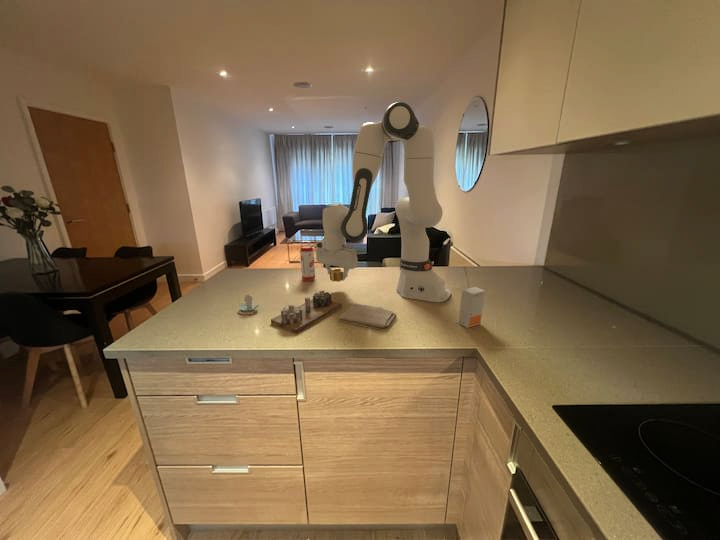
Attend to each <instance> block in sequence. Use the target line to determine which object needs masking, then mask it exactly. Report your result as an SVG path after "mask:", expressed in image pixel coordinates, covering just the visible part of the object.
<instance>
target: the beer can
mask: <svg viewBox="0 0 720 540" xmlns="http://www.w3.org/2000/svg"><path fill="white" fill-rule="evenodd" d="M299 250H300V251H299V253H300V254H299V255H300V257H299V258H300V268H301V271H300V272H301V278H302V280H303V281H305V282H311V281H314V280H315V279H316V270H315V269H316V267H315V254H314V253H315V251H314V248H313V246H312V245H302V246H301V247H300V249H299ZM313 279H314V280H313Z"/></svg>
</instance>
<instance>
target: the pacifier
mask: <svg viewBox="0 0 720 540" xmlns="http://www.w3.org/2000/svg"><path fill="white" fill-rule="evenodd" d="M243 299H244V302H243V303H240V304H239V305H238V308H239V310H238V314H240V315H252V314H255V313H256V309H257V308H258V307H260V304H256V305H253V296H252V295H251V294H246V295H244V297H243Z"/></svg>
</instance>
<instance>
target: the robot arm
mask: <svg viewBox="0 0 720 540" xmlns="http://www.w3.org/2000/svg"><path fill="white" fill-rule="evenodd" d="M396 142H401V144H402V145H403V150H404V153H403V159H404V160H403V183H404V184H405V185H404V186H406V190H407V193H408V194H407V195H408V196H406V197H403V198H401V199H399V200H398V201H397V202H396V203H395V204H396V205H395V214H396V216H397V219H398V225H399V228H400V230H399V231H400V236H401V237H400V238H401V257H400V258H399V260H400V261H399V271H400V272H399V278H398V283H397V286H396V289H395V290H396V292H397V293H398V294H400V296H401V298H405V299H412V300H417V301H418V300H419V301H424V302H431V303H438V304H439V303H444V302H445V301H447V300H448V299H449V298H450V297H451V295H452V293H451V290H450V289H447V288H446V282H445V279H444V278H443V277H442V276H441V275H440V274H439V273H438V272H437V271H435V269H433V265H434V262H435V261H431V259H429V255H430V254H429V253H430V239H429V237H428V235H427V232H426V228H427V229H428V228H432V227H435V226H437V225H438V224H439V223H440V222H441V220H442V218H443V212H444V211H443V207H442V205H441V204H440V203H439V201H438V199H437V193H436V189H435V181H434V173H435V171H434V169H435V168H434V167H435V144H434V143H435V140H434V134H433V131H432V129H430V127H427V126H424V125H420V123H419V120H418V119H417V117H416V114H415V113H414V110H413V109H412V107H411V106H410V105H409V104H408V103H406V102H404V101H395V102H394V103H392V104H390V105H389V106H388V107H387V108H386V110H385V111H384V114H383V117H382V119H381V120H380V121H378V122H366V123H363V124H362V125H361V127H360V129H359V131H358V133H357V137H356V141H355V143H354V144H355V145H354V149H353V155H352V185H353V186H352V194H351V198H350V204H349V207H347V206H345V205H344V204H343V203H341V202H340V203H339V202H336V203H332V204H331V203H330V204H329V205H326V206H325V207H324V208H323V210H322V227H323V231H324V235H323V239H322V240H319V241H317V242H315V243H314V244H315V248H316V250H315V257H316V258H315V259H316V262H317V263H318V264H321V265H322V264H323V265H324V267H325V269H326V270H327V275H330V272H329V271H330V270H331V269H332V268H331V266H333V267H337V268H338V267H339V268H343V269H344V270H345V271H344V273H342V277H345V278H346V279H347V277H348V273H349V271H350V270H353V269H356V268H358V266H359V262H358V260H359V259H358V256H357V249H356V248H355V247H354V246H353V245H347V241H350V242H353V243H354V242H360V241H362V240H363V239H365V238H366V237H367V234H368V232H369V225H368V223H369V222H368V218H367V209H368V203H369V199H370V192H371V190H372V187H373V185H374V183H375V181H376V179H377V177H378V175H379V172H380V169H381V166H382V163H383V158H384V152H385V148H386V145H387V144H389V143H396Z"/></svg>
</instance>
